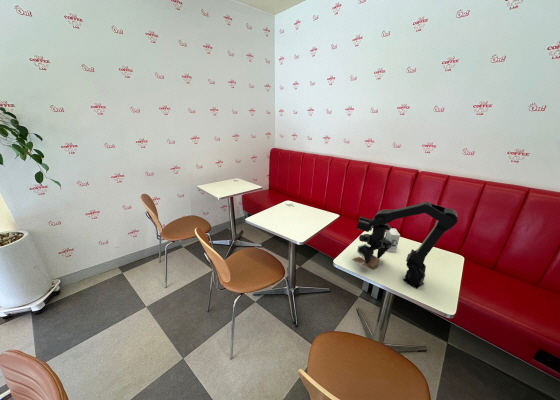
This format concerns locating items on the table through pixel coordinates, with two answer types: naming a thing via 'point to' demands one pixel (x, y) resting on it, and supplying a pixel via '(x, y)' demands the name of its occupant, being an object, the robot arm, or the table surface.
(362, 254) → the base block
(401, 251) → the table surface
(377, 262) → the walnut cube
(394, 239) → the ink box
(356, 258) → the swatch
